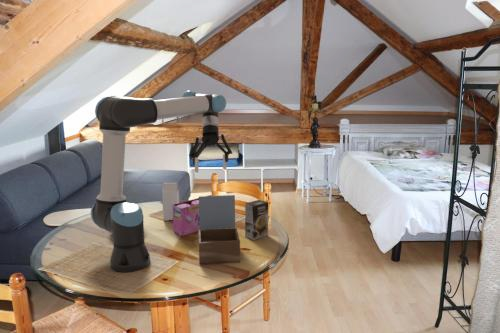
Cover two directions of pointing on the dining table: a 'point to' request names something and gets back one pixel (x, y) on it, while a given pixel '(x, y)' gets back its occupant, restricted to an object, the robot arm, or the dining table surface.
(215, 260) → the walnut box
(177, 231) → the gum box
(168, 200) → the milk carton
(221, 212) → the lid
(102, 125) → the robot arm
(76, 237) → the dining table surface
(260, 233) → the coffee box
